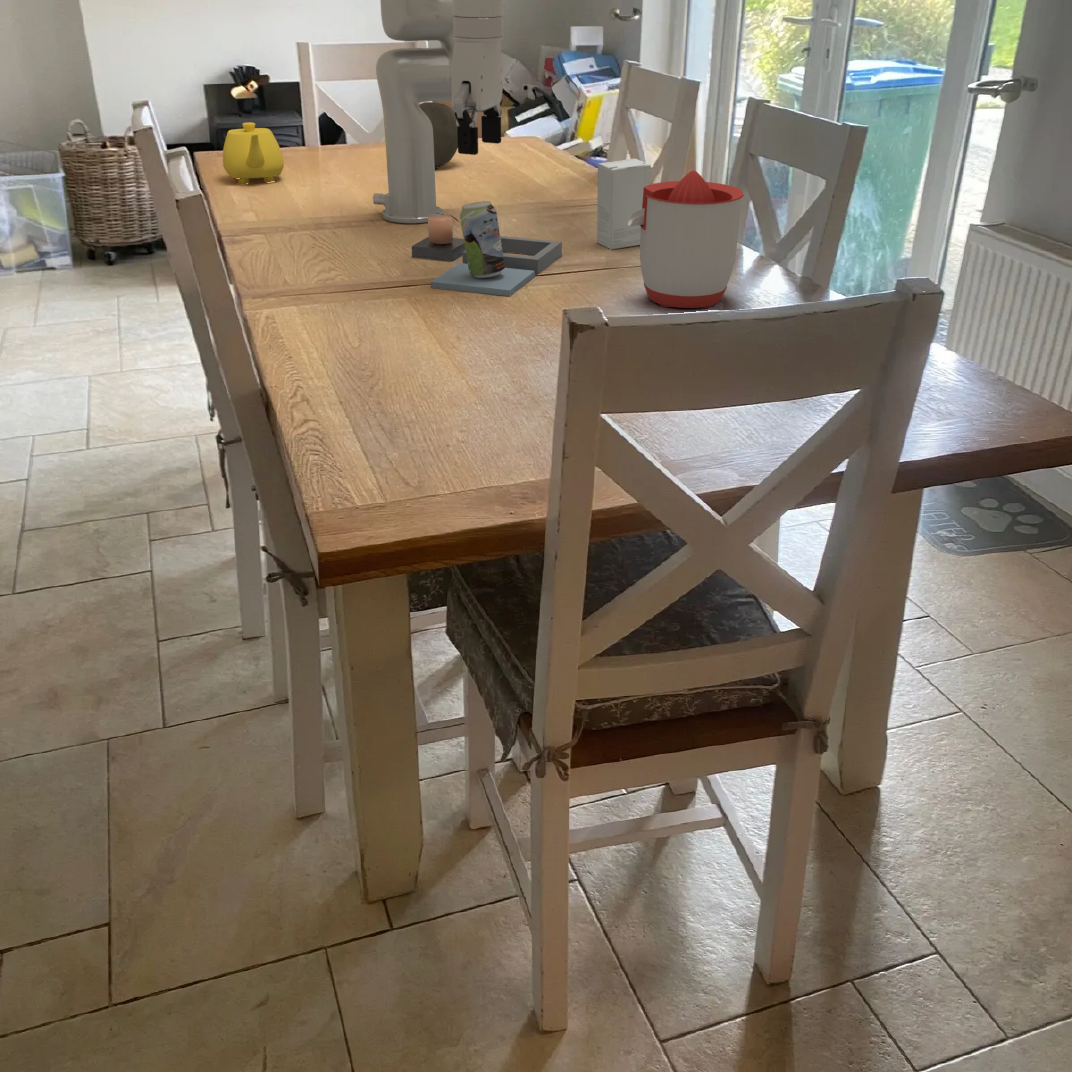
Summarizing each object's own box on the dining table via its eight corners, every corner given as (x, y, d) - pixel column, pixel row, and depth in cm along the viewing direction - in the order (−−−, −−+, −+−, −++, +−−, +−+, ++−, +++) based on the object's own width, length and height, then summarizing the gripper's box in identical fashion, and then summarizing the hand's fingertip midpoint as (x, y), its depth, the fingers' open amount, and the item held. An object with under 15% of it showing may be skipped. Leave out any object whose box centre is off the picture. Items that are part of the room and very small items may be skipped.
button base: (412, 257, 193) (411, 246, 192) (430, 246, 200) (430, 235, 199) (452, 261, 191) (452, 250, 190) (470, 250, 197) (469, 239, 196)
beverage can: (500, 282, 176) (499, 207, 170) (457, 279, 177) (454, 205, 171) (508, 272, 181) (508, 199, 176) (466, 269, 183) (464, 197, 177)
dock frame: (462, 266, 188) (462, 252, 187) (490, 248, 199) (490, 234, 197) (537, 274, 184) (537, 259, 183) (561, 255, 195) (561, 241, 193)
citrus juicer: (622, 284, 179) (628, 159, 169) (726, 285, 178) (738, 160, 168) (626, 313, 165) (632, 180, 155) (739, 315, 165) (752, 181, 155)
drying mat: (430, 287, 177) (430, 281, 176) (459, 268, 187) (459, 263, 186) (509, 296, 173) (509, 290, 172) (534, 276, 183) (534, 270, 182)
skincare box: (632, 238, 206) (636, 157, 198) (648, 245, 201) (653, 163, 193) (594, 243, 202) (596, 161, 195) (609, 250, 198) (612, 167, 190)
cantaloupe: (460, 172, 260) (458, 106, 252) (402, 172, 260) (398, 106, 253) (464, 161, 272) (462, 98, 265) (409, 161, 272) (405, 98, 265)
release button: (424, 242, 193) (423, 219, 191) (434, 236, 197) (433, 214, 195) (447, 244, 192) (446, 221, 190) (456, 238, 195) (456, 216, 193)
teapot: (280, 171, 261) (274, 116, 254) (291, 188, 244) (285, 129, 238) (222, 175, 257) (214, 118, 250) (230, 192, 240) (222, 132, 234)
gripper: (476, 23, 169) (478, 137, 178) (431, 33, 155) (435, 156, 164) (521, 25, 167) (521, 140, 175) (479, 36, 153) (481, 160, 161)
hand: (480, 148), depth 169 cm, fingers open, 9 cm apart
